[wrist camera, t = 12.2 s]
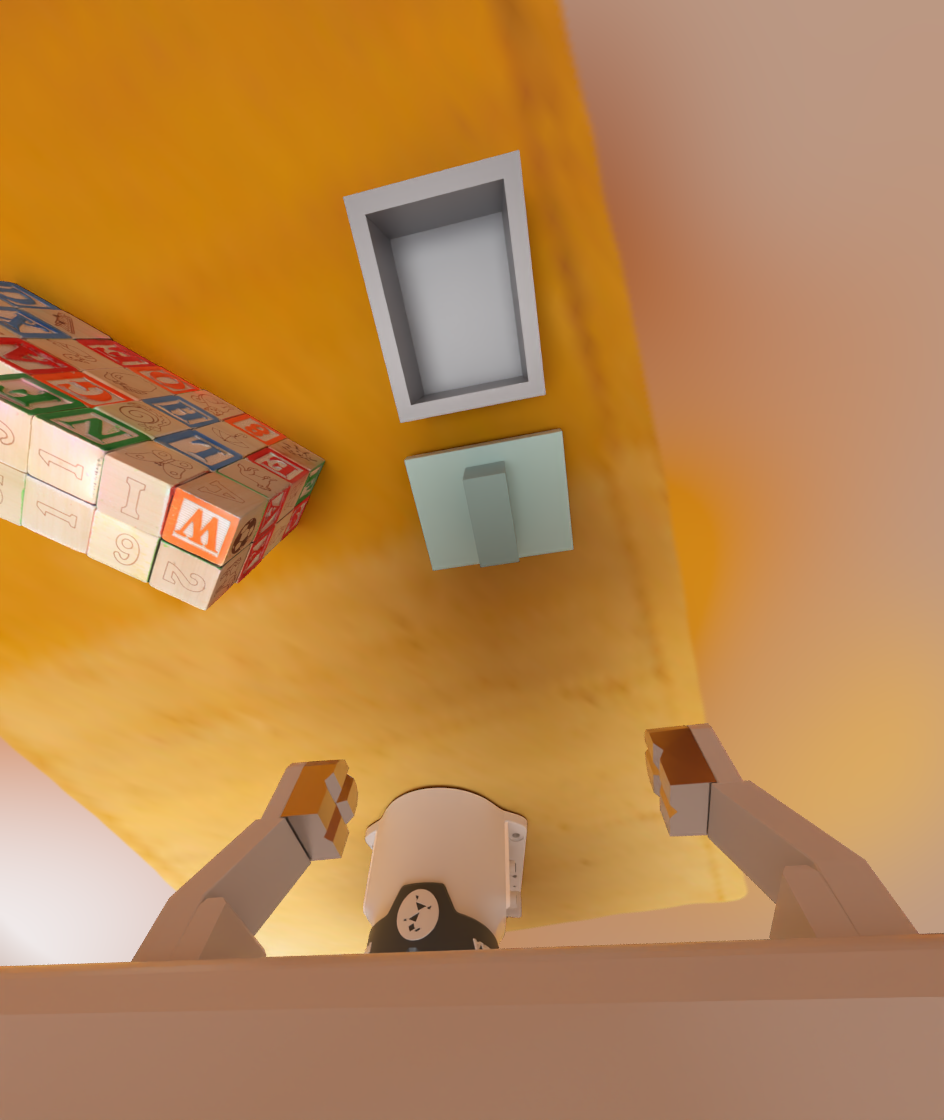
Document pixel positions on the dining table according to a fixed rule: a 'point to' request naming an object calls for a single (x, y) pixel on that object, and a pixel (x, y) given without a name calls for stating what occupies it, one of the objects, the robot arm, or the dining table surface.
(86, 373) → the stack of blocks
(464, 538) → the lid
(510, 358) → the storage box
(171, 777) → the dining table surface
